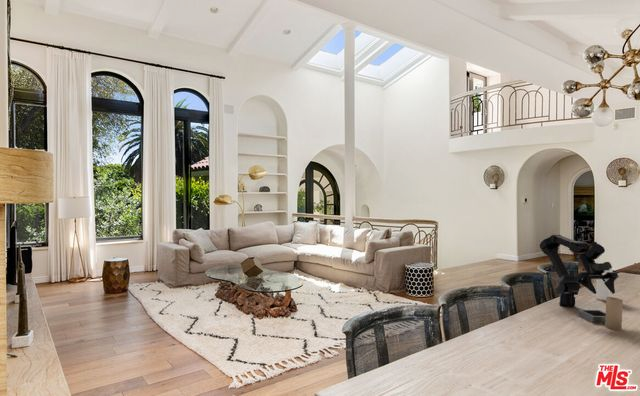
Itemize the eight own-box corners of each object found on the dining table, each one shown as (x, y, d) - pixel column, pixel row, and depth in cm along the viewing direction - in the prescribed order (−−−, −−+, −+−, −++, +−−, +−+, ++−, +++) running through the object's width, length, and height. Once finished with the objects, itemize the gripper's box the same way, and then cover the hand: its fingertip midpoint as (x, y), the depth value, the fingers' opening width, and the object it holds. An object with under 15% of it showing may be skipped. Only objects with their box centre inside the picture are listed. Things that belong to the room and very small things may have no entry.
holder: (578, 315, 199) (578, 309, 198) (598, 316, 199) (598, 310, 199) (592, 322, 189) (593, 316, 188) (613, 323, 189) (614, 316, 189)
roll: (606, 328, 181) (607, 299, 181) (603, 324, 187) (605, 296, 186) (622, 330, 179) (624, 301, 178) (619, 326, 184) (621, 298, 184)
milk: (611, 299, 229) (613, 260, 229) (608, 301, 225) (610, 261, 224) (598, 297, 234) (600, 258, 233) (595, 298, 230) (597, 260, 229)
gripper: (580, 255, 193) (596, 285, 183) (617, 255, 195) (634, 285, 185) (567, 267, 202) (582, 296, 192) (602, 267, 204) (619, 296, 194)
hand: (604, 293), depth 190 cm, fingers open, 9 cm apart
